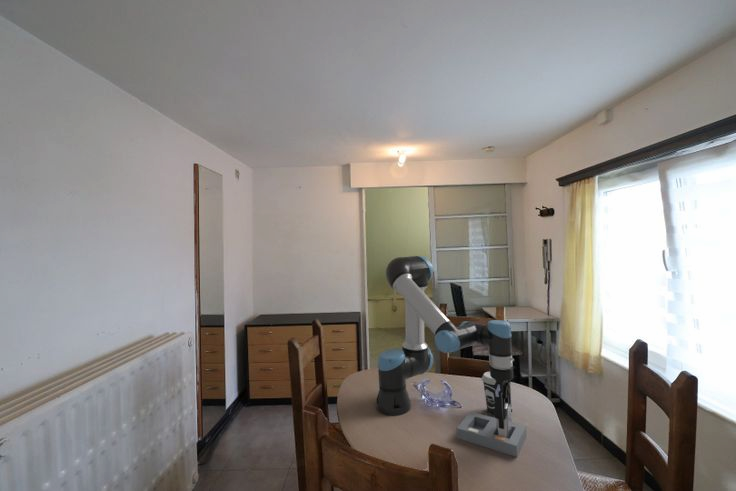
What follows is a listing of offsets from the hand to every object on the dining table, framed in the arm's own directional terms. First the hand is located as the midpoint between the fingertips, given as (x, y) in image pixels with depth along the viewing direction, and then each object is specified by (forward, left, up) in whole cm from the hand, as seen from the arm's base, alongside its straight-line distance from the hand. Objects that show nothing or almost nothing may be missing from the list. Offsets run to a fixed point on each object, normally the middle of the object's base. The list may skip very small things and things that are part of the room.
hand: (504, 433), depth 115 cm
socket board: (-4, 0, -3) cm, 5 cm away
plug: (0, 0, 0) cm, 0 cm away
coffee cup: (-8, +19, -3) cm, 21 cm away
